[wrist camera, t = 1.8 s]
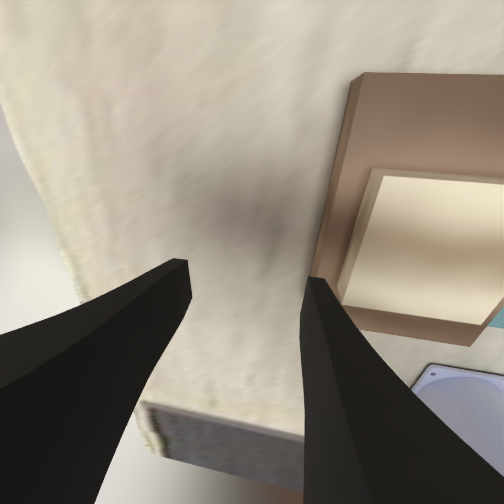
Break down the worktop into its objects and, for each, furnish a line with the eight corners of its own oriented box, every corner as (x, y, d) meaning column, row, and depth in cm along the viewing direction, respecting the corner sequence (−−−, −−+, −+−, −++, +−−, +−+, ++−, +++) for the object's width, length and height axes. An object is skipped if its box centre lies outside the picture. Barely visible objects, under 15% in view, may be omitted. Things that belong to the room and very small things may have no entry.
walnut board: (447, 316, 19) (469, 346, 17) (305, 296, 21) (306, 321, 18) (603, 87, 11) (692, 78, 9) (351, 81, 13) (364, 72, 10)
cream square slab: (460, 301, 15) (480, 325, 13) (337, 285, 16) (341, 304, 14) (544, 179, 11) (589, 190, 9) (371, 167, 12) (383, 175, 10)
